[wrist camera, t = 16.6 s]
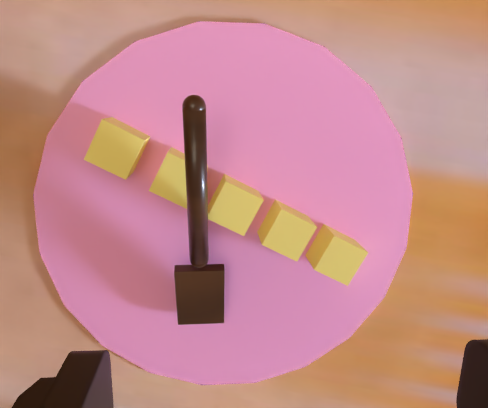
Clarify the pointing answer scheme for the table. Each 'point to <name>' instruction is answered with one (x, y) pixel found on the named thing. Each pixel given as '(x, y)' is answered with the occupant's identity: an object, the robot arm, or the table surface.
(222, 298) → the spatula
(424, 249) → the table surface
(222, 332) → the platter
